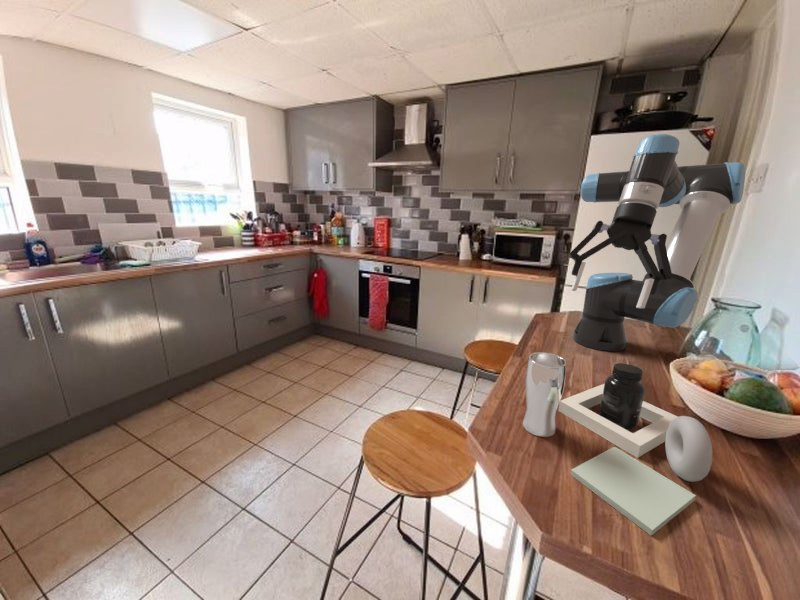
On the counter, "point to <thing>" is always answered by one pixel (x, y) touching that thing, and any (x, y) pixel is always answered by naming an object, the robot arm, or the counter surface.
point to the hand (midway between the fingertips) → (605, 298)
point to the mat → (633, 489)
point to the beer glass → (543, 392)
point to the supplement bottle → (623, 396)
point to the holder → (617, 435)
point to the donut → (688, 448)
